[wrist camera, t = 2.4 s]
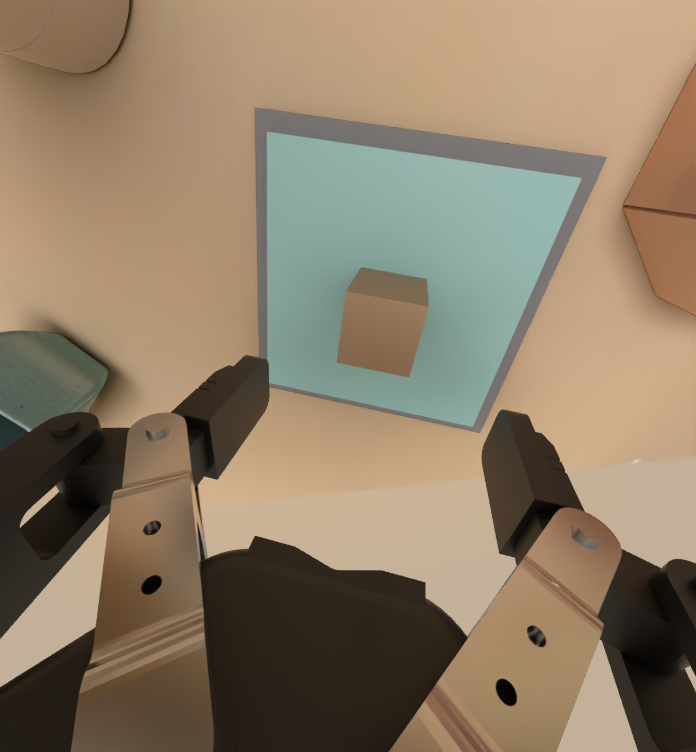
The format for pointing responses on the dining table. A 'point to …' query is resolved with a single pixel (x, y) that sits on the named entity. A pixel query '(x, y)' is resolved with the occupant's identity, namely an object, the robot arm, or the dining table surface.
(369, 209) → the lid
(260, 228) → the mat
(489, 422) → the dining table surface
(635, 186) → the bowl
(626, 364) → the dining table surface
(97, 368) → the flower pot
